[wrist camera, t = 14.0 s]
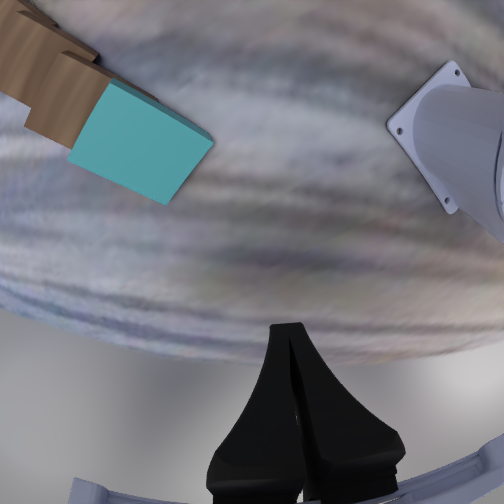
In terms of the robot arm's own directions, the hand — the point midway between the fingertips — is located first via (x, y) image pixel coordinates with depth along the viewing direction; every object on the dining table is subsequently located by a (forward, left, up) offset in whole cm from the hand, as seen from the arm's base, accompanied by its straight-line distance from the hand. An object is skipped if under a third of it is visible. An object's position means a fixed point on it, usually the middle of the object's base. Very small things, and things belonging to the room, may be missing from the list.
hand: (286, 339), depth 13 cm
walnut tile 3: (+17, 0, -9) cm, 19 cm away
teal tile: (+7, 0, -9) cm, 12 cm away
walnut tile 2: (+11, 0, -9) cm, 15 cm away
